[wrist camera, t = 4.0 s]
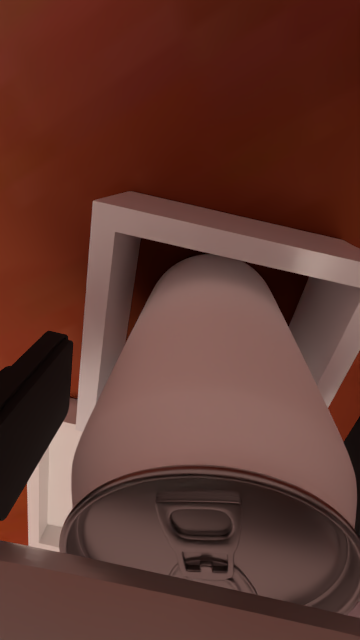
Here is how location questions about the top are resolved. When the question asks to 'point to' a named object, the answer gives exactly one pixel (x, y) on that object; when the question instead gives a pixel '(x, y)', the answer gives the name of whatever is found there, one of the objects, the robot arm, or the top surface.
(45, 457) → the tray
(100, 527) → the can
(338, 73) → the top surface
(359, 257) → the white square frame
